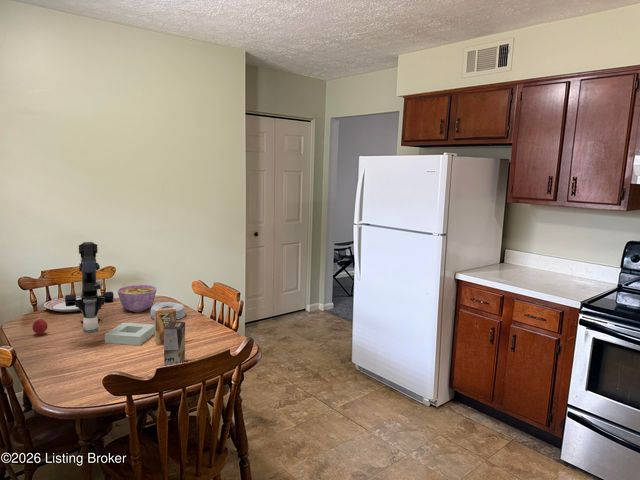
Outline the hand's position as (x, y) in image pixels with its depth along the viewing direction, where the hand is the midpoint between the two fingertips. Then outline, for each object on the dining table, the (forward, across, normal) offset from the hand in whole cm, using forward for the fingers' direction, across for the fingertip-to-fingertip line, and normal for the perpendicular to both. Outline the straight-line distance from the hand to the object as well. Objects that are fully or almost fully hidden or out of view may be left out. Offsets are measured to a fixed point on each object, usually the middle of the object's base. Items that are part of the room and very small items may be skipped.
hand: (90, 316), depth 189 cm
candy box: (+14, +30, +5) cm, 33 cm away
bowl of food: (-24, +23, +43) cm, 54 cm away
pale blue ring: (-12, +37, +31) cm, 50 cm away
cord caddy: (+6, +16, +13) cm, 22 cm away
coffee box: (+32, +30, -12) cm, 45 cm away
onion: (-6, -20, +26) cm, 34 cm away
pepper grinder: (+4, 0, +6) cm, 7 cm away
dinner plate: (-35, -8, +55) cm, 65 cm away
